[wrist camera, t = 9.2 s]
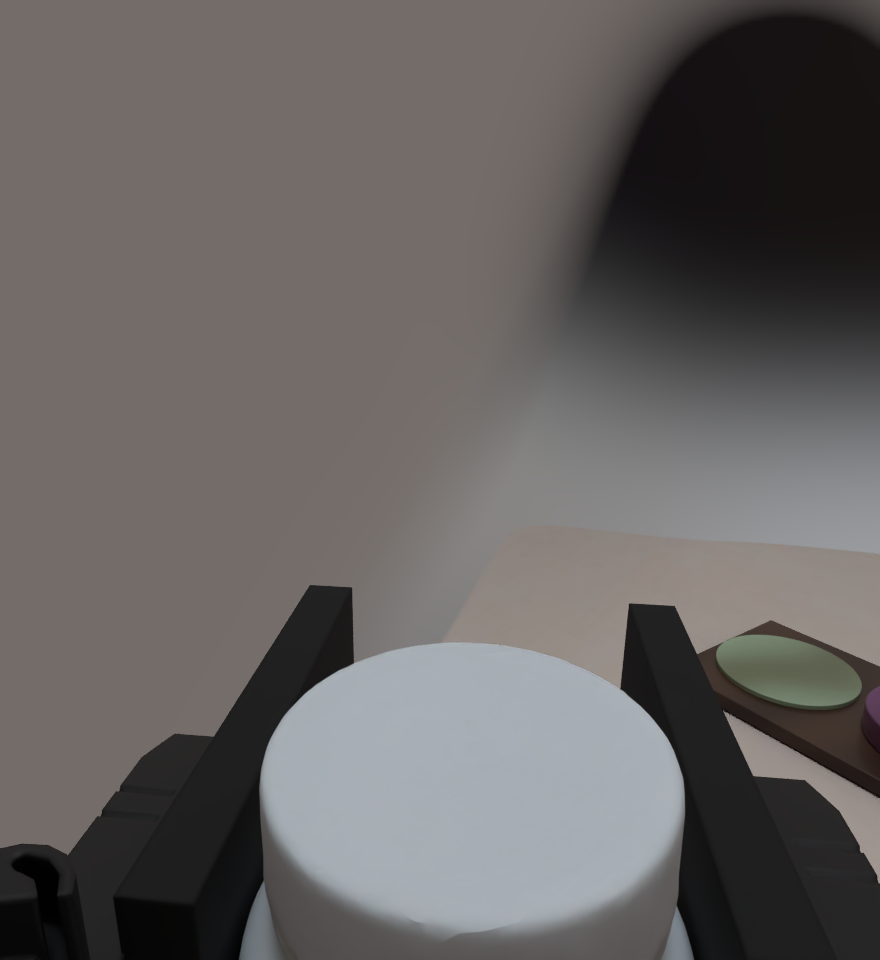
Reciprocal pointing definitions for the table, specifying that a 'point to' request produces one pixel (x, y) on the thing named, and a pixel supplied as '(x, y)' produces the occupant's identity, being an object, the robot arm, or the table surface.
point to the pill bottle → (468, 816)
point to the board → (803, 696)
